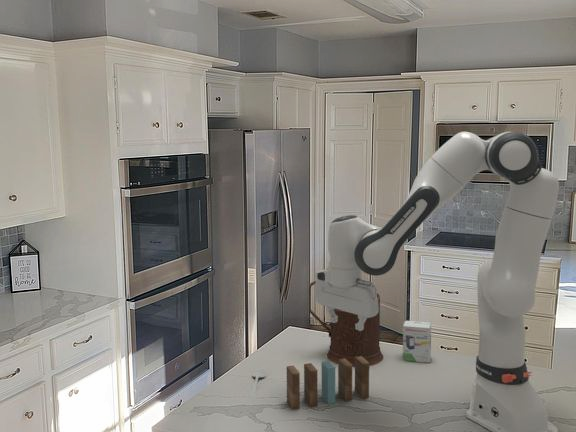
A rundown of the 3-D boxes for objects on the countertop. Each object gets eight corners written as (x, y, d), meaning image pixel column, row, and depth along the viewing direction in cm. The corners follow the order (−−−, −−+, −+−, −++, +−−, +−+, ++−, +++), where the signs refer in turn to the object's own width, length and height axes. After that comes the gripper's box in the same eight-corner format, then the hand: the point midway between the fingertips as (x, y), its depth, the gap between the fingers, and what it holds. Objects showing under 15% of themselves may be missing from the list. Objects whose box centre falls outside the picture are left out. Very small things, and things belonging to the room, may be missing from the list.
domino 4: (344, 392, 162) (344, 358, 161) (352, 400, 157) (352, 365, 156) (338, 393, 161) (338, 359, 160) (345, 401, 157) (345, 366, 155)
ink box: (430, 357, 186) (431, 322, 184) (429, 363, 181) (430, 327, 180) (403, 354, 189) (404, 319, 187) (402, 360, 184) (402, 325, 182)
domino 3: (328, 395, 161) (328, 360, 159) (335, 402, 156) (335, 367, 154) (321, 396, 160) (321, 361, 159) (328, 404, 155) (328, 368, 154)
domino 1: (293, 400, 158) (293, 365, 156) (299, 408, 153) (299, 372, 151) (286, 401, 157) (286, 366, 156) (292, 409, 152) (292, 373, 151)
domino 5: (361, 389, 164) (361, 356, 162) (368, 397, 159) (369, 362, 157) (354, 390, 163) (354, 356, 161) (362, 398, 158) (362, 363, 157)
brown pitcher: (387, 367, 179) (388, 288, 175) (309, 367, 180) (309, 289, 176) (379, 345, 197) (380, 273, 194) (308, 345, 198) (308, 274, 194)
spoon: (267, 372, 177) (267, 367, 177) (257, 404, 157) (256, 398, 156) (254, 372, 177) (254, 367, 177) (241, 403, 157) (241, 397, 157)
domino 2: (311, 397, 159) (311, 363, 158) (317, 405, 154) (317, 370, 153) (304, 398, 158) (304, 363, 157) (310, 406, 154) (310, 371, 152)
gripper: (383, 280, 149) (384, 332, 151) (326, 268, 164) (327, 315, 166) (367, 285, 145) (368, 338, 147) (310, 272, 160) (312, 320, 162)
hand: (346, 326), depth 156 cm, fingers open, 8 cm apart
